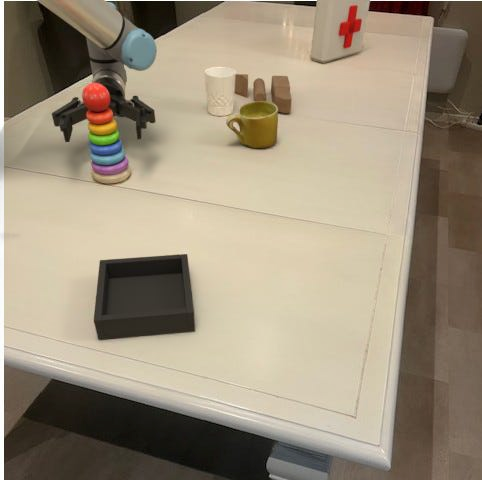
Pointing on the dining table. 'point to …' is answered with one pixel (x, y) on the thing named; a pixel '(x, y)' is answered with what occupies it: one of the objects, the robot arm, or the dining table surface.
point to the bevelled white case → (338, 29)
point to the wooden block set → (278, 92)
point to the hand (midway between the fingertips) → (102, 134)
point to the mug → (256, 124)
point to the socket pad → (143, 297)
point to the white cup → (220, 90)
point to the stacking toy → (104, 137)
